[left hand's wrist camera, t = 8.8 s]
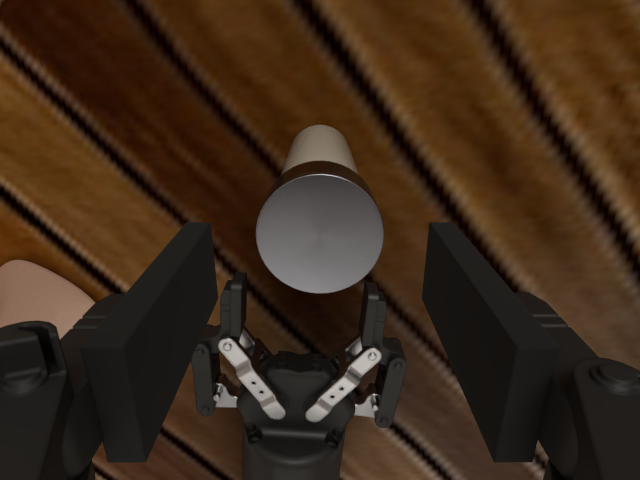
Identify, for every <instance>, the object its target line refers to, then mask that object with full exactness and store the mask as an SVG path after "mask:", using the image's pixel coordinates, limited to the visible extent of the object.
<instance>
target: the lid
mask: <svg viewBox="0 0 640 480" xmlns="http://www.w3.org/2000/svg"><path fill="white" fill-rule="evenodd" d="M383 241H384V226H383V220H382V217H381V214H380V211H379V209H378V206H377V204H376V202H375V199H374V197H373V194H372V192H371V190H370V188H369V187H368V185H367V184H366V182H365V181H364V180H363V179H362V178H361V177H360V176H359V175H358V174H357V173H356V172H354V171H353V170H351V169H350V168H348V167H346V166H344V165H341V164H338V163H335V162H331V161H310V162H305V163H302V164H299V165H296V166H294V167H292V168H290V169H289V170H287V171H286V172H284V173H283V174H282V175H281V176H280V177H279V178H278V179H277V180H276V181H275V182H274V184H273V185H272V187H271V188H270V190H269V192H268V194H267V196H266V199H265V201H264V204H263V206H262V209H261V211H260V214H259V217H258V220H257V225H256V242H257V247H258V251H259V253H260V256H261V258H262V260H263V262H264V263H265V265H266V266H267V268H268V269H269V270H270V272H271V273H272V274H273V275H274V276H275V277H277V278H278V279H279V280H280V281H282V282H283V283H285V284H286V285H288V286H290V287H292V288H295V289H297V290H300V291H304V292H309V293H331V292H336V291H340V290H343V289H345V288H348V287H350V286H352V285H354V284H355V283H357V282H358V281H360V280H361V279H362V278H363V277H365V276H366V275H367V274H368V273H369V271H370V270H371V269H372V268H373V267H374V265H375V263H376V262H377V260H378V258H379V256H380V253H381V250H382V247H383Z"/></svg>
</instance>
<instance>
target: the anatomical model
mask: <svg viewBox="0 0 640 480" xmlns="http://www.w3.org/2000/svg"><path fill="white" fill-rule="evenodd" d="M93 304H95V302H94V301H93V300H92V299H91V298H90V297H89V296H88V295H87V294H86V293H84V292H83V291H82V290H81V289H79V288H78V287H76V286H75V285H74V284H72V283H71V282H69V281H67V280H66V279H64V278H62V277H61V276H59V275H57V274H55V273H53V272H51V271H49V270H48V269H46V268H43V267H41V266H39V265H37V264H34V263H32V262H28V261H24V260H12V261H9V262H7V263H5V264H4V265H3V266H1V267H0V328H1V327H4V326H6V325H11V324H15V323H19V322H24V321H36V320H39V321H45V322H50V323H52V324H53V325H55V326H56V327H57V331H58V334H59V338H60V339H61V338H62V337H63V336H64V335H65V334H66V333H67V332H68V331H69V330H70V329H73V325H74V324H75V323H76V322H77V321H78V320H79V319H82V316H83V315H84V314H85V313H86V312H87V311H88V310H89V309H90V308H91V307H92V306H93Z"/></svg>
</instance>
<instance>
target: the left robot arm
mask: <svg viewBox="0 0 640 480" xmlns="http://www.w3.org/2000/svg"><path fill="white" fill-rule="evenodd" d="M217 300H218V293H217V283H216V273H215V263H214V253H213V243H212V232H211V223H186V224H185V225H184V226H183V227H182V228H181V230H180V231H179V232H178V233H177V234H176V235H175V237H174V238H173V239H172V240H171V241H170V242H169V244H168V245H167V246H166V247H165V248H164V249H163V251H162V252H161V253H160V254H159V255H158V256H157V258H156V259H155V260H154V261H153V262H152V263H151V265H150V266H149V267H148V268H147V269H146V270H145V272H144V273H143V274H142V275H141V276H140V277H139V279H138V280H137V281H136V282H135V283H134V285H133V286H132V287H131V288H130V289H129V290H128V292H127V293H126V294H111V295H109V296H107V297H105V298H104V299H102V300H100V301H98V302H97V303H95V304H93V306H92V307H91V308H90V309H89V310H88V311H87V312H86V313H85V314H84V315H83V316H82V319H79V320H78V321H77V322H76V323H75V324H74V325H73V329H70V330H69V331H68V332H67V333H66V334H65V335H64V336H63V337H62V338H61V339H60V338H59V334H58V331H57V327H56V326H55V325H53V324H52V323H50V322H45V321H39V320H36V321H24V322H19V323H15V324H11V325H6V326H4V327H1V328H0V480H95V472H94V467H93V463H92V458H93V456H94V454H95V453H96V451H97V449H98V448H99V446H100V444H101V442H102V441H103V445H104V449H105V453H106V457H107V461H108V462H146V461H147V459H148V456H149V454H150V452H151V449H152V447H153V445H154V443H155V440H156V438H157V436H158V434H159V431H160V429H161V427H162V424H163V422H164V420H165V418H166V415H167V413H168V411H169V409H170V406H171V404H172V402H173V400H174V397H175V395H176V393H177V390H178V388H179V386H180V384H181V381H182V379H183V377H184V375H185V372H186V370H187V368H188V365H189V363H190V361H191V359H192V356H193V354H194V352H195V350H196V347H197V345H198V343H199V340H200V338H201V336H202V334H203V331H204V329H205V327H206V325H207V322H208V320H209V318H210V315H211V313H212V311H213V309H214V306H215V304H216V302H217ZM422 300H423V302H424V304H425V306H426V309H427V311H428V313H429V315H430V318H431V320H432V322H433V325H434V327H435V329H436V331H437V334H438V336H439V338H440V340H441V343H442V345H443V347H444V350H445V352H446V354H447V356H448V359H449V361H450V363H451V365H452V368H453V370H454V372H455V375H456V377H457V379H458V381H459V384H460V386H461V388H462V390H463V393H464V395H465V397H466V400H467V402H468V404H469V406H470V409H471V411H472V413H473V415H474V418H475V420H476V422H477V424H478V427H479V429H480V431H481V434H482V436H483V438H484V440H485V443H486V445H487V447H488V449H489V452H490V454H491V456H492V459H493V461H494V462H532V461H533V457H534V453H535V449H536V445H537V440H539V442H540V443H541V445H542V447H543V449H544V450H545V452H546V454H547V455H548V457H549V459H548V463H547V467H546V471H545V474H544V478H543V480H640V371H639V370H637V369H635V368H632V367H630V366H628V365H626V364H624V363H621V362H618V361H614V360H610V359H607V358H599V357H598V356H597V355H596V354H595V353H594V352H593V351H592V350H591V348H590V347H589V346H588V345H587V344H586V343H585V342H584V341H583V340H582V339H581V338H580V337H579V336H578V335H577V334H576V333H575V332H574V331H573V330H572V329H571V328H570V327H568V325H567V323H566V322H565V321H564V320H563V319H562V318H561V317H558V314H557V313H556V312H555V311H554V310H553V309H552V308H551V307H550V306H549V305H548V304H547V303H546V302H544V301H543V300H541V299H539V298H537V297H536V296H534V295H532V294H530V293H529V292H512V290H511V289H510V288H509V287H508V286H507V285H506V283H505V282H504V281H503V280H502V279H501V277H500V276H499V275H498V274H497V273H496V272H495V270H494V269H493V268H492V267H491V266H490V265H489V263H488V262H487V261H486V260H485V259H484V258H483V256H482V255H481V254H480V253H479V252H478V251H477V249H476V248H475V247H474V246H473V245H472V244H471V242H470V241H469V240H468V239H467V238H466V237H465V235H464V234H463V233H462V232H461V231H460V230H459V228H458V227H457V226H456V225H455V224H454V223H429V232H428V243H427V253H426V263H425V273H424V283H423V293H422Z"/></svg>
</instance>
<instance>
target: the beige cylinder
mask: <svg viewBox="0 0 640 480" xmlns="http://www.w3.org/2000/svg"><path fill="white" fill-rule="evenodd" d="M310 161H331V162H335V163H338V164H341V165H344V166H346V167H348V168H350V169H351V170H353V171H354V172H356V173H357V174H358V175H359V173H358V170H357V167H356V165H355V162H354V159H353V156H352V154H351V151H350V148H349V145H348V143H347V141H346V139H345V138H344V136H343V135H342V134H341V133H340V132H339V131H337V130H336V129H334V128H332V127H330V126H326V125H314V126H311V127H308V128H306V129H304V130H303V131H301V132H300V133H299V134H298V135H297V136H296V138H295V139H294V141H293V143H292V145H291V148H290V151H289V154H288V156H287V159H286V162H285V165H284V167H283V170H282V173H281V175H282V174H283V173H284V172H286V171H287V170H289V169H290V168H292V167H294V166H296V165H299V164H302V163H305V162H310Z"/></svg>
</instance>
